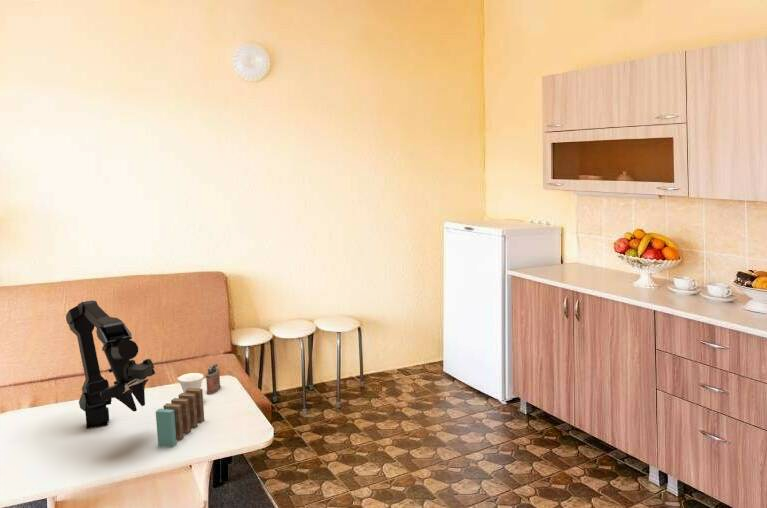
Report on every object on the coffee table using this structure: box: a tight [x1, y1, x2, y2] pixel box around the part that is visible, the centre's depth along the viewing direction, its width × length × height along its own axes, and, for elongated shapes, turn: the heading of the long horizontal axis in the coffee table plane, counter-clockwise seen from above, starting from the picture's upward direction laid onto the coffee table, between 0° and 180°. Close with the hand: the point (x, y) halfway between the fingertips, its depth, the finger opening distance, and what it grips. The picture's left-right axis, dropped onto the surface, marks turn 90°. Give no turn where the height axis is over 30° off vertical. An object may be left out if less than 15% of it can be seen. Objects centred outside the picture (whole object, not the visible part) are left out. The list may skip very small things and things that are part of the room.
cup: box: [176, 372, 205, 393], centre depth 218 cm, size 9×9×10 cm
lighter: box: [205, 362, 222, 396], centre depth 230 cm, size 8×3×10 cm, turn 168°
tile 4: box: [162, 403, 185, 441], centre depth 189 cm, size 2×5×11 cm, turn 79°
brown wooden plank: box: [178, 392, 199, 429], centre depth 197 cm, size 2×5×11 cm, turn 79°
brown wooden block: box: [170, 397, 192, 435], centre depth 193 cm, size 2×5×11 cm, turn 79°
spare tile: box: [155, 408, 177, 448], centre depth 184 cm, size 2×5×11 cm, turn 78°
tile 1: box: [186, 388, 205, 424], centre depth 202 cm, size 2×5×11 cm, turn 79°
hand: (139, 408), depth 184 cm, fingers open, 4 cm apart
